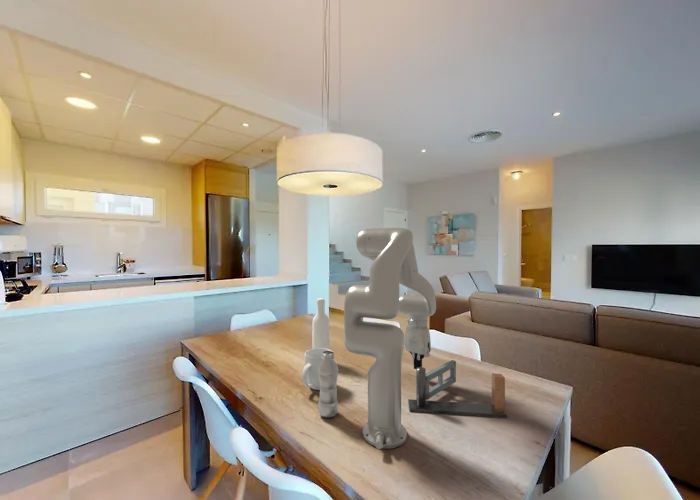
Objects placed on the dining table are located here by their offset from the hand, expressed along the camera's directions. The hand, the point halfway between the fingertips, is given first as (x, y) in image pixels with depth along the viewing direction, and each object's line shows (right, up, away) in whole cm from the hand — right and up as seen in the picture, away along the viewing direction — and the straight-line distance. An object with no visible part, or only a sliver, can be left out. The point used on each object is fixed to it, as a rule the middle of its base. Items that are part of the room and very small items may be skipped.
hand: (417, 368), depth 120 cm
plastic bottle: (-35, -5, -25) cm, 43 cm away
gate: (+5, -3, -13) cm, 14 cm away
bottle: (-41, -5, +18) cm, 45 cm away
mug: (-40, -5, -6) cm, 41 cm away
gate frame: (+7, -5, -22) cm, 24 cm away
